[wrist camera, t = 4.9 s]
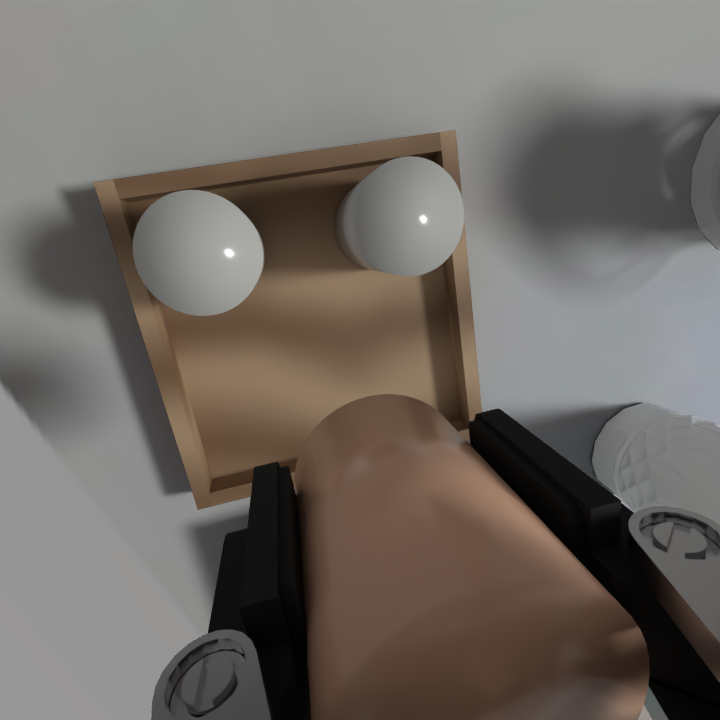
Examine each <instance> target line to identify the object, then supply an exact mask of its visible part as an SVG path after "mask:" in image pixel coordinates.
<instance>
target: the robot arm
mask: <svg viewBox="0 0 720 720" xmlns="http://www.w3.org/2000/svg"><path fill="white" fill-rule="evenodd" d="M469 437H470V445H471V446H472V447H473V448H474V449H475V450H476V451H477V452H478V453H479V454H480V455H481V457H482V458H483V459H484V460H485V461H486V462H487V463H488V464H489V465H490V466H491V467H492V468H493V469H494V470H495V471H496V473H497V474H498V475H499V476H500V477H501V478H502V479H503V480H504V481H505V482H506V483H507V484H508V485H509V486H510V487H511V489H512V490H513V491H514V492H515V493H516V494H517V495H518V496H519V497H520V498H521V499H522V500H523V501H524V502H525V503H526V505H527V506H528V507H529V508H530V509H531V510H532V511H533V512H534V513H535V514H536V515H537V516H538V517H539V518H540V519H541V520H542V522H543V523H544V524H545V525H546V526H547V527H548V528H549V529H550V530H551V531H552V532H553V533H554V534H555V535H556V536H557V538H558V539H559V540H560V541H561V542H562V543H563V544H564V545H565V546H566V547H567V548H568V549H569V550H570V551H571V552H572V554H573V555H574V556H575V557H576V558H577V559H578V560H579V561H580V562H581V563H582V564H583V565H584V566H585V567H586V568H587V569H588V571H589V572H590V573H591V574H592V575H593V576H594V577H595V578H596V579H597V580H598V581H599V582H600V583H601V584H602V585H603V587H604V588H605V589H606V590H607V591H608V592H609V593H610V594H611V595H612V596H613V597H614V598H615V599H616V600H617V601H618V603H619V604H620V605H621V606H622V607H623V608H624V609H625V610H626V611H627V612H628V613H629V614H630V615H631V616H632V618H633V619H634V621H635V622H636V624H637V625H638V627H639V628H640V630H641V632H642V635H643V637H644V640H645V642H646V645H647V650H648V655H649V669H650V676H649V683H648V690H647V694H646V698H645V701H644V705H645V707H646V709H647V711H648V712H649V714H650V716H651V718H652V720H720V525H719V524H717V523H716V522H714V521H713V520H711V519H709V518H707V517H705V516H702V515H700V514H698V513H695V512H692V511H688V510H685V509H681V508H674V507H668V506H654V507H648V508H644V509H640V510H639V511H637V512H635V513H633V512H632V511H631V510H629V509H628V508H627V507H626V506H624V505H623V504H622V503H621V500H619V499H618V498H617V497H615V496H614V495H613V494H611V493H610V492H609V491H607V490H606V489H605V488H604V487H602V486H601V485H600V484H598V483H597V482H596V481H594V480H593V479H592V478H590V477H589V476H588V475H586V474H585V473H584V472H582V471H581V470H580V469H578V468H577V467H576V466H574V465H573V464H572V463H570V462H569V461H568V460H567V459H565V458H564V457H563V456H561V455H560V454H559V453H557V452H556V451H555V450H553V449H552V448H551V447H549V446H548V445H547V444H545V443H544V442H543V441H541V440H540V439H539V438H537V437H536V436H535V435H533V434H532V433H531V432H529V431H528V430H527V429H526V428H524V427H523V426H522V425H520V424H519V423H518V422H516V421H515V420H514V419H512V418H511V417H510V416H508V415H507V414H506V413H504V412H503V411H502V410H500V409H494V410H490V411H486V412H482V413H478V414H476V415H475V417H474V420H473V421H470V422H469ZM151 720H311V710H310V695H309V681H308V667H307V635H306V622H305V608H304V595H303V581H302V568H301V555H300V541H299V528H298V514H297V501H296V493H295V489H294V485H293V481H292V477H291V473H290V469H289V466H288V465H287V466H283V467H280V465H279V462H278V461H277V462H273V463H269V464H265V465H261V466H257V467H254V471H253V481H252V491H251V500H250V510H249V520H248V528H247V529H243V530H239V531H235V532H231V533H228V534H227V535H226V536H225V540H224V545H223V551H222V556H221V562H220V568H219V573H218V579H217V585H216V590H215V596H214V602H213V607H212V613H211V619H210V624H209V630H208V634H205V635H203V636H201V637H199V638H198V639H196V640H194V641H193V642H191V643H189V644H188V645H187V646H186V647H185V648H183V649H182V650H181V651H180V652H179V653H178V654H176V655H175V656H174V658H173V659H172V660H171V661H170V663H169V664H168V665H167V666H166V668H165V669H164V670H163V672H162V674H161V676H160V678H159V680H158V682H157V685H156V686H155V691H154V696H153V701H152V717H151Z"/></svg>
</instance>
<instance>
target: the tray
mask: <svg viewBox="0 0 720 720" xmlns="http://www.w3.org/2000/svg"><path fill="white" fill-rule="evenodd" d="M407 156H413V157H421V158H425V159H428V160H430V161H433V162H434V163H436V164H438V165H439V166H441V167H442V168H443V169H444V170H445V171H446V172H447V173H448V174H449V175H450V176H451V177H452V178H453V180H454V181H455V183H456V185H457V187H458V189H459V191H460V193H461V183H460V172H459V162H458V151H457V140H456V130H452V131H445V132H438V133H431V134H424V135H417V136H410V137H403V138H396V139H390V140H383V141H376V142H369V143H362V144H355V145H348V146H341V147H334V148H327V149H320V150H314V151H307V152H300V153H293V154H286V155H279V156H272V157H265V158H258V159H251V160H245V161H238V162H231V163H224V164H217V165H210V166H203V167H196V168H189V169H182V170H175V171H169V172H162V173H155V174H148V175H141V176H134V177H127V178H120V179H113V180H106V181H100V182H93V183H94V186H95V189H96V192H97V196H98V199H99V202H100V205H101V208H102V211H103V214H104V217H105V221H106V224H107V227H108V230H109V233H110V236H111V239H112V242H113V246H114V249H115V252H116V255H117V258H118V261H119V264H120V268H121V271H122V274H123V277H124V280H125V283H126V286H127V289H128V293H129V296H130V299H131V302H132V305H133V308H134V311H135V314H136V318H137V321H138V324H139V327H140V330H141V333H142V336H143V339H144V343H145V346H146V349H147V352H148V355H149V358H150V361H151V364H152V368H153V371H154V374H155V377H156V380H157V383H158V386H159V389H160V393H161V396H162V399H163V402H164V405H165V408H166V411H167V414H168V418H169V421H170V424H171V427H172V430H173V433H174V436H175V439H176V443H177V446H178V449H179V452H180V455H181V458H182V461H183V464H184V468H185V471H186V474H187V477H188V480H189V483H190V486H191V489H192V493H193V496H194V499H195V502H196V505H197V508H198V510H199V509H203V508H207V507H211V506H215V505H219V504H223V503H227V502H231V501H235V500H239V499H243V498H247V497H251V491H252V481H253V471H254V467H257V466H261V465H265V464H269V463H273V462H277V461H278V462H279V465H280V467H283V466H287V465H288V466H289V469H290V473H291V477H292V481H293V485H295V469H296V463H297V460H298V456H299V454H300V451H301V449H302V447H303V445H304V443H305V441H306V440H307V438H308V436H309V435H310V434H311V432H312V431H313V430H314V429H315V427H316V426H317V425H318V424H319V423H320V422H321V421H322V420H323V419H324V418H325V417H327V416H328V415H329V414H331V413H332V412H333V411H335V410H336V409H338V408H340V407H342V406H343V405H345V404H347V403H350V402H352V401H354V400H357V399H360V398H364V397H367V396H373V395H379V394H396V395H404V396H408V397H412V398H415V399H418V400H420V401H423V402H425V403H427V404H428V405H430V406H432V407H433V408H435V409H436V410H437V411H439V412H440V413H441V414H442V415H443V416H444V417H445V418H446V419H447V420H448V421H449V422H450V424H451V425H452V426H453V427H454V428H455V429H456V430H457V431H458V432H459V433H460V434H461V435H462V436H463V437H464V438H465V440H466V441H467V442H469V441H470V437H469V422H470V421H473V420H474V417H475V415H476V414H478V413H482V408H481V397H480V386H479V376H478V365H477V354H476V344H475V333H474V322H473V312H472V301H471V290H470V279H469V269H468V258H467V247H466V237H465V226H464V225H463V230H462V234H461V237H460V240H459V242H458V244H457V246H456V248H455V250H454V251H453V253H452V254H451V255H450V257H449V258H448V259H447V260H446V261H445V262H444V263H443V264H441V265H440V266H439V267H437V268H436V269H434V270H432V271H430V272H428V273H426V274H422V275H418V276H398V275H393V274H389V273H384V272H380V271H375V270H371V269H366V268H363V267H360V266H358V265H356V264H355V263H353V262H352V261H350V260H349V259H348V258H347V257H346V256H345V255H344V253H343V252H342V251H341V249H340V247H339V245H338V243H337V240H336V237H335V231H334V219H335V214H336V210H337V208H338V205H339V203H340V201H341V200H342V198H343V197H344V196H345V194H346V193H347V192H348V191H350V190H351V189H352V188H353V187H355V186H356V185H357V184H358V183H359V182H361V181H362V180H363V179H364V178H366V177H367V176H368V175H369V174H371V173H372V172H373V171H374V170H376V169H377V168H378V167H380V166H381V165H383V164H384V163H386V162H388V161H390V160H393V159H395V158H400V157H407ZM182 190H200V191H206V192H210V193H213V194H216V195H218V196H221V197H223V198H225V199H226V200H228V201H230V202H231V203H233V204H234V205H235V206H236V207H238V208H239V209H240V210H241V211H242V212H243V213H244V214H245V215H246V216H247V217H248V219H249V220H250V221H251V222H252V223H253V224H254V225H255V226H256V228H257V229H258V231H259V233H260V234H261V237H262V239H263V242H264V246H265V254H266V258H265V265H264V269H263V272H262V274H261V276H260V278H259V280H258V281H257V283H256V285H255V287H254V288H253V290H252V291H251V293H250V294H249V295H248V297H247V298H246V299H245V300H244V301H243V302H241V303H240V304H239V305H237V306H236V307H234V308H232V309H231V310H228V311H226V312H223V313H220V314H216V315H210V316H196V315H189V314H185V313H182V312H179V311H177V310H174V309H172V308H170V307H168V306H167V305H165V304H164V303H162V302H161V301H159V300H158V299H157V298H156V297H155V296H154V295H153V294H152V293H151V292H150V291H149V290H148V289H147V287H146V286H145V284H144V283H143V281H142V280H141V278H140V276H139V274H138V271H137V269H136V266H135V262H134V257H133V238H134V232H135V230H136V227H137V224H138V222H139V220H140V218H141V216H142V215H143V214H144V212H145V211H146V210H147V209H148V208H149V207H150V206H151V205H152V204H153V203H154V202H156V201H157V200H158V199H160V198H162V197H164V196H165V195H168V194H171V193H173V192H178V191H182ZM461 197H462V194H461Z"/></svg>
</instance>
